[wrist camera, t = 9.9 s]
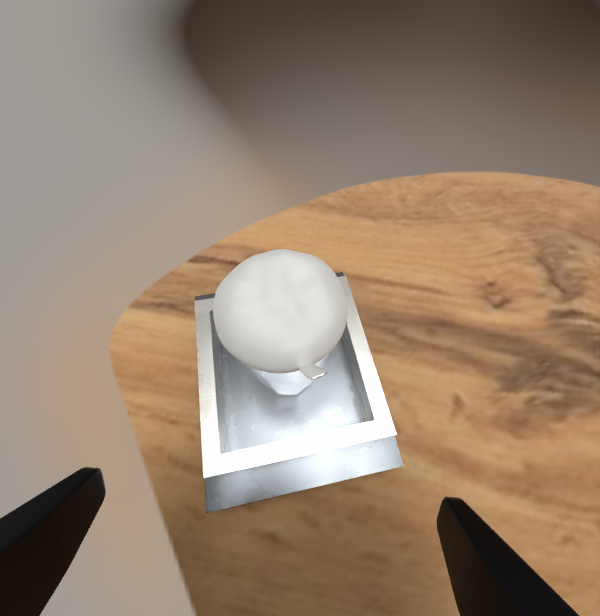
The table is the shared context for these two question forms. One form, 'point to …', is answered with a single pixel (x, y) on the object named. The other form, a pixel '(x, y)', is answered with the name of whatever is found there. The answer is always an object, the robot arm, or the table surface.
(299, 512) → the table surface
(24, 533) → the robot arm
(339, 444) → the grey open rectangular box
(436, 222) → the table surface
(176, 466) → the table surface
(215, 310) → the milkshake
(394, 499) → the table surface
